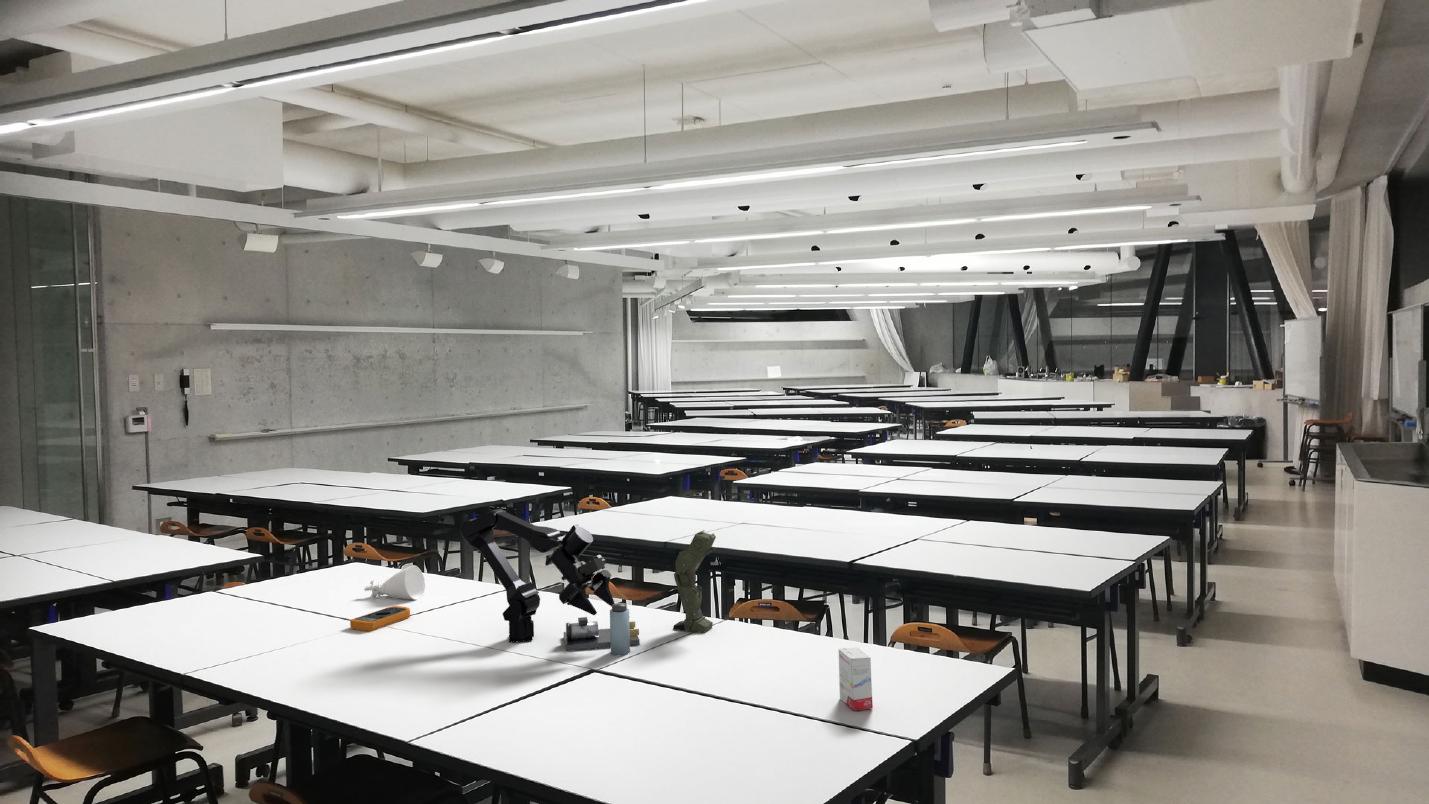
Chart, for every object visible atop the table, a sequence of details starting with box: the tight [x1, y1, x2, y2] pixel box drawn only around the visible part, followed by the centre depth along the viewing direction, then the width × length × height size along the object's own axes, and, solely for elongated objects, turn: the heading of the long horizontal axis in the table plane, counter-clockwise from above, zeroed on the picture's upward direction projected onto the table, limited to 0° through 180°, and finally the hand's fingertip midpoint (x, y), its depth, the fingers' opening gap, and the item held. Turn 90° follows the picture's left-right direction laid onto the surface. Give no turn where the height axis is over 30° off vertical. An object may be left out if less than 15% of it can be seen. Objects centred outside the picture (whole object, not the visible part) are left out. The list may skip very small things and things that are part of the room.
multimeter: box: [349, 605, 411, 633], centre depth 284 cm, size 9×18×3 cm, turn 154°
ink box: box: [838, 646, 874, 712], centre depth 211 cm, size 9×5×12 cm, turn 13°
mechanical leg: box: [672, 529, 717, 634], centre depth 271 cm, size 14×7×30 cm, turn 68°
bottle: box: [609, 602, 631, 656], centre depth 251 cm, size 5×5×13 cm
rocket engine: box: [363, 564, 426, 601], centre depth 315 cm, size 12×12×18 cm
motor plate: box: [563, 616, 641, 652], centre depth 262 cm, size 20×13×7 cm, turn 103°
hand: (604, 609), depth 253 cm, fingers open, 9 cm apart
